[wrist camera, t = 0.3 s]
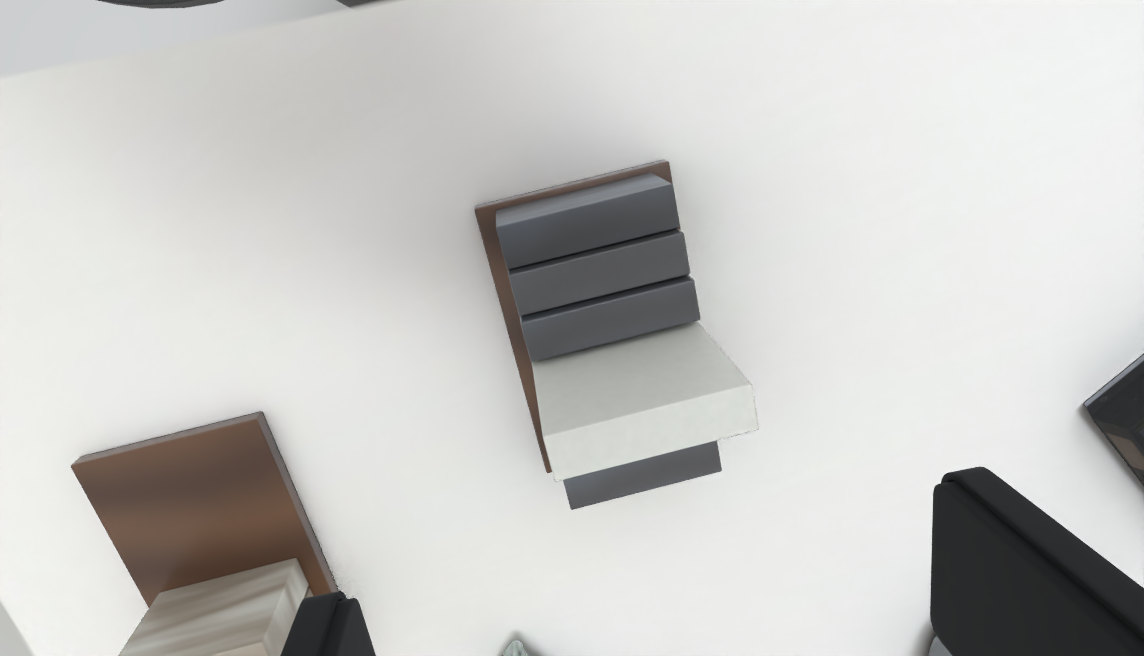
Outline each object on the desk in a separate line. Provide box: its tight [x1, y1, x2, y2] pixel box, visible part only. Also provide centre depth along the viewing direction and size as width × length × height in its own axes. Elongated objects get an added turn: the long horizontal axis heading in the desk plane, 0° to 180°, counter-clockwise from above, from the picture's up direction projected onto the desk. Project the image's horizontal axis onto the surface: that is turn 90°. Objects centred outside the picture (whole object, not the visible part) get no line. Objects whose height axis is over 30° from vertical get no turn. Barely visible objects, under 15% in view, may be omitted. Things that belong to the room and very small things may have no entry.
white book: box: [532, 321, 758, 482], centre depth 32 cm, size 2×8×12 cm, turn 103°
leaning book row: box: [71, 412, 338, 656], centre depth 37 cm, size 16×10×8 cm, turn 13°
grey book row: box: [475, 160, 722, 510], centre depth 35 cm, size 16×10×6 cm, turn 13°
